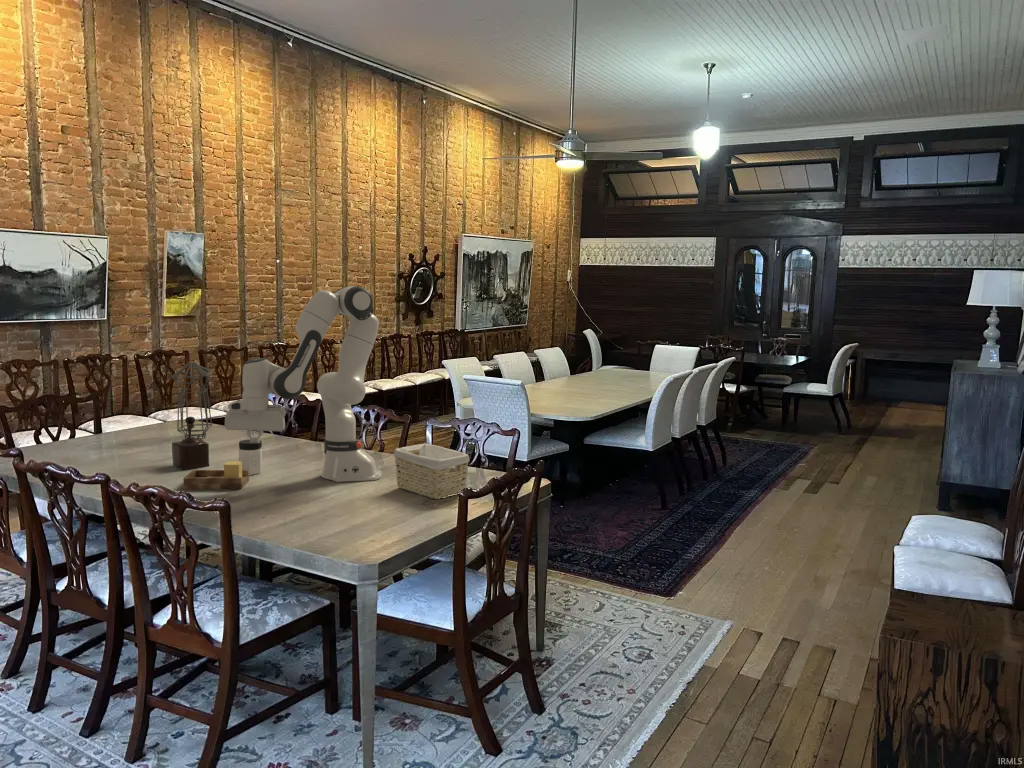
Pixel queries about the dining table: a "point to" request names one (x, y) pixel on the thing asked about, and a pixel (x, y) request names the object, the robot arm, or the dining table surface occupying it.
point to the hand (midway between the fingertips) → (254, 442)
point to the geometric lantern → (193, 392)
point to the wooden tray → (214, 480)
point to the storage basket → (431, 470)
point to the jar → (251, 456)
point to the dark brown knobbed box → (190, 450)
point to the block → (233, 469)
